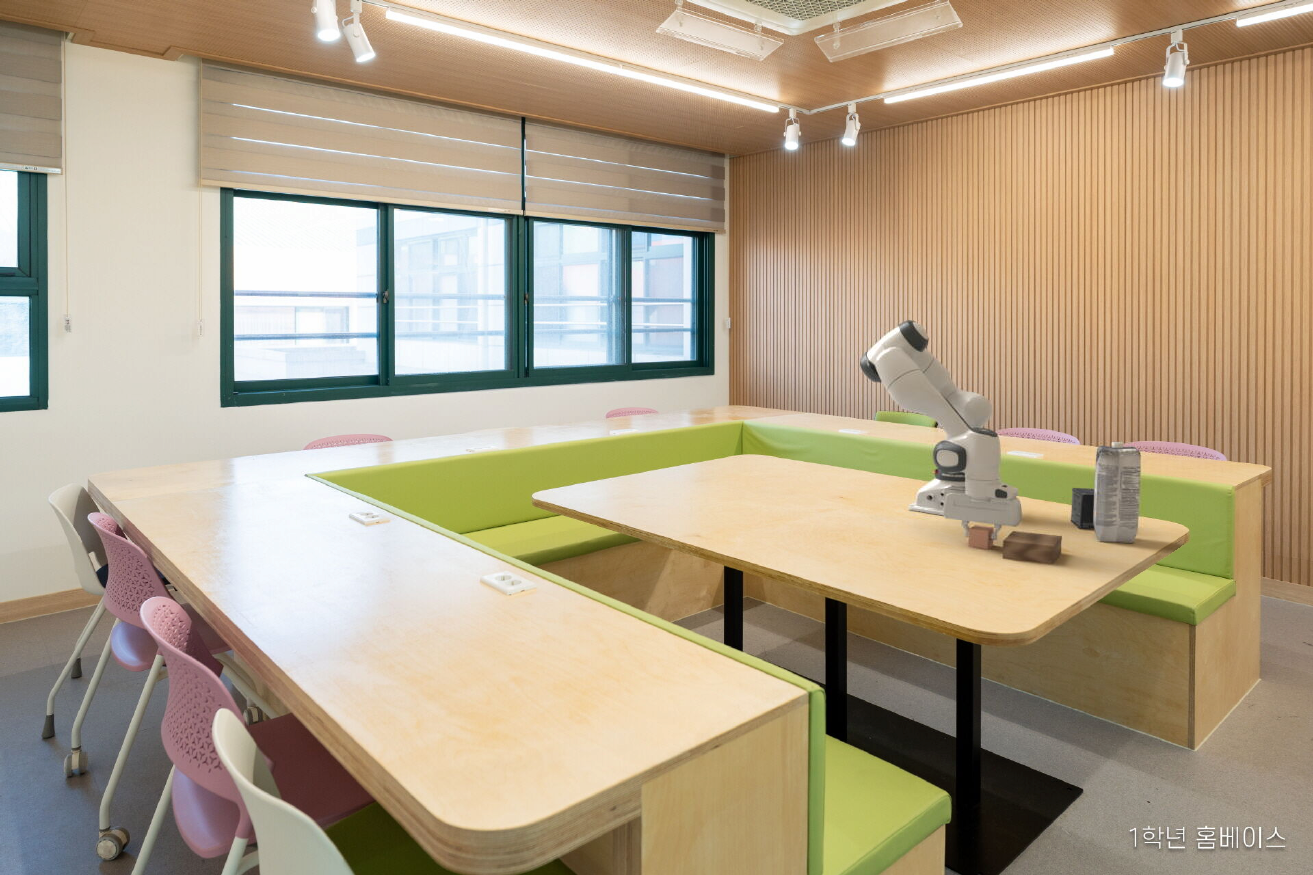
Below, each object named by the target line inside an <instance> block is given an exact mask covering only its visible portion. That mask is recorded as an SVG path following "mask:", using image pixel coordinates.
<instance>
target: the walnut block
mask: <svg viewBox="0 0 1313 875" xmlns="http://www.w3.org/2000/svg"><path fill="white" fill-rule="evenodd" d="M1062 540H1063V538H1062V535H1057V534H1046V533H1035V532H1029V531H1028V532H1025V531H1017V530H1011V532H1010V533H1009V534H1008V535H1007V536H1006V538H1004V539H1003V541H1002V559H1005V560H1014V561H1021V562H1022V561H1024V562H1031V563H1038V564H1039V563H1040V564H1045V565H1046V564H1048V565H1054V564H1055V563H1056V561H1057V560H1058V558H1059V557H1060V556H1061V554H1062Z"/></svg>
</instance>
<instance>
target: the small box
mask: <svg viewBox="0 0 1313 875" xmlns="http://www.w3.org/2000/svg"><path fill="white" fill-rule="evenodd" d="M1094 491H1095V488H1086V487H1085V488H1084V487H1083V488H1081V487H1072V488H1071V493H1072V494H1071V498H1072V499H1071V511H1070V512H1071V514H1070V522H1071V523H1072V524H1073V525H1074V526H1075V527H1077V528H1078V529H1079V530H1095V528H1094V522H1093V518H1094Z"/></svg>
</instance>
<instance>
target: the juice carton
mask: <svg viewBox="0 0 1313 875" xmlns="http://www.w3.org/2000/svg"><path fill="white" fill-rule="evenodd" d="M1095 456H1096V457H1095V458H1096V459H1095V470H1094V471H1095V473H1094V489H1095V491H1094V518H1093V522H1094V528H1095V529H1094V531H1095V535H1096V538H1097V539H1098V542H1103V541H1104V542H1106V543H1119V544H1120V543H1122V544H1133V543H1134V542H1135V540H1136V537H1137V533H1138V529H1139V517H1140V516H1139V514H1140V510H1139V509H1140V497H1141V496H1140V495H1141V494H1140V493H1141V492H1140V491H1141V475H1142V474H1141V471H1142V468H1141V467H1142V464H1141V463H1142V462H1141V452H1140V450H1139V449H1138V448H1137V447H1135V446H1124V442H1122V441H1121V442H1120V441H1117V442H1116V441H1112V442H1111V446H1108V445H1106V446H1105V445H1099V446H1098V447H1097V449H1096V454H1095Z"/></svg>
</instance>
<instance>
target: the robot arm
mask: <svg viewBox="0 0 1313 875" xmlns="http://www.w3.org/2000/svg"><path fill="white" fill-rule="evenodd" d="M929 338H930V337H929V335H928V333H927V332H926V330H925V328H924V327H923V325H921V324H920V323H919V322H916V321H915V320H909V319H907V320H905V321H903V322H901V323H900V324H898V325H897V327H895V328H893V329H892V330H890V331H889V332H887V333H886V334H885V335H883V336H882V337H881V339H879V340H878V341H877V342H876V343H875V344H874V345H873V346H872V347H871V348H870V349H869V350H868V351H866V352H865V353H863V355H862V356H861V357H860V359H859V360H860V361H859V367H860V370H862V371H861V372H862V373H863V375H864V376H865V377H867V379H869V380H870V381H871V382H874V383H882V384H883V386H884V388H885V390H886V392H887V393H888V394H889V396H890V397H891V399H892V400H893V402H895V404H896V405H898V406H899V408H901V409H902V410H905V411H907V412H912V413H916V414H920V415H924V416H927V417H929V418H931V419H932V420H934V421H935V422H936V423H937V424H938V425H939V426H940V427H941V429H942V430H943V431H944V432H945V434H946V437H945V438H944V439H943V440H941V441H939V442H937V444H935V446H934V447H933V451H932V460H933V463H934V465H935V467H936V469H934V470H933V474H934V478H933V479H931V480H930V481H929V482H927V483H925V484H924V485H923V486H922V487H921V488H919V489H918V490H917V493H916V497H915V501H914V502H911V503H910V504H909V505H908V508H909V509H910V511H915V512H919V511H920V513H926V514H934V515H939V516H943V517H944V518H945V519H948V520H955V521H961V527H962V528H963V529H964V531H965V538H969V528H970V527H969V525H968V524H970V522H972V523H981V524H987V525H988V524H990V525H993V527H994V529H995V530H994V533H990V540H993V541H997V540H998V534H999V532H1000V530H1001V529H1002V527H1003V526H1008V527H1016V528H1017V527H1018V526H1019V525H1020V524H1022V521H1023V511H1022V510H1023V509H1022V504H1021V500H1020V498H1018V497H1017V496H1019V489H1018V488H1017V487H1016V486H1015V487H1014V486H1012V485H1010V484H1007V483H1005V482H1002V481H1001V475H1000V469H999V468H1000V466H1001V459H1002V458H1001V454H1002V451H1001V442H1000V437H999V434H998V433H997V432H995V430H992V429H991V428H984V426H986V424H987V422H989V420H990V419H991V417H992V415H993V414H992V412H993V407H992V403H991V402H990V400H989V399H988V398H987V397H985V396H983V395H982V394H979V393H978V392H974V391H966V390H964V389H963V390H962V389H961V388H959V387H958V386H957V385H956V384H955V383H954V381H953V379H952V378H951V373H950V371H949V370H948V369H947V367H945V366H944V364H942V363H941V361H940V360H938V359H937V357H936V356H934V355H933V353H932V352H930V351H929V350H928V349H927V347H928V345H929V341H930V339H929ZM909 509H908V510H909Z"/></svg>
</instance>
